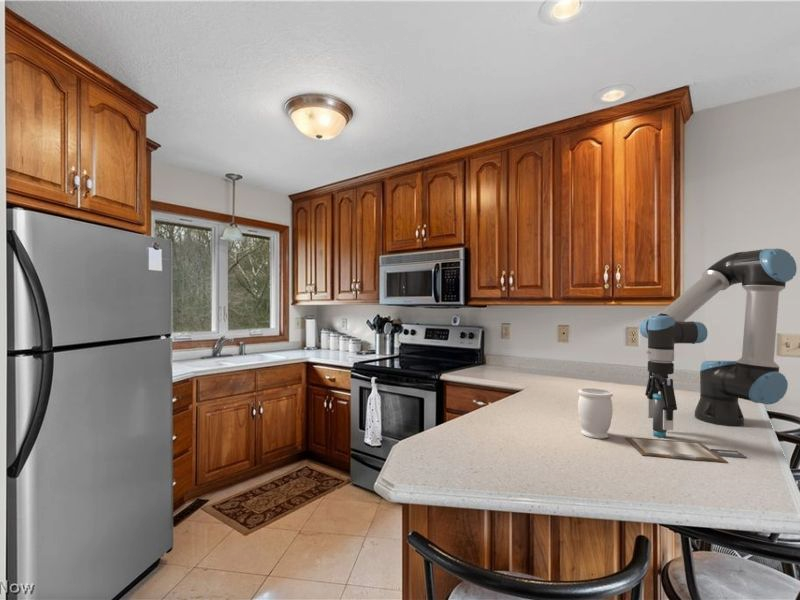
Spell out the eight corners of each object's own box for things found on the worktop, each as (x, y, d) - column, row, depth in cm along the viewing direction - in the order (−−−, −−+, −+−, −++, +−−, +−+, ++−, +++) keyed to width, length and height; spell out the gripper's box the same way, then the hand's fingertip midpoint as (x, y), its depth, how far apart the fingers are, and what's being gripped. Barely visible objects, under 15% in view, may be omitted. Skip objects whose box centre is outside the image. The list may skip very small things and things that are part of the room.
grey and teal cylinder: (664, 434, 141) (664, 394, 141) (669, 438, 137) (669, 396, 137) (650, 433, 142) (650, 393, 142) (655, 437, 138) (655, 396, 138)
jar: (576, 436, 138) (577, 392, 138) (578, 428, 147) (579, 386, 147) (612, 442, 133) (612, 396, 133) (612, 433, 142) (612, 390, 142)
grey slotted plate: (737, 452, 126) (737, 450, 126) (746, 458, 121) (746, 456, 121) (710, 450, 127) (710, 448, 127) (719, 456, 122) (719, 454, 122)
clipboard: (700, 443, 133) (700, 441, 133) (728, 463, 117) (728, 460, 117) (625, 437, 138) (625, 435, 138) (642, 455, 122) (642, 453, 122)
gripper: (636, 355, 153) (635, 412, 153) (662, 366, 128) (662, 434, 128) (658, 356, 151) (657, 414, 151) (690, 367, 127) (689, 436, 127)
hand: (659, 423), depth 140 cm, fingers open, 13 cm apart
